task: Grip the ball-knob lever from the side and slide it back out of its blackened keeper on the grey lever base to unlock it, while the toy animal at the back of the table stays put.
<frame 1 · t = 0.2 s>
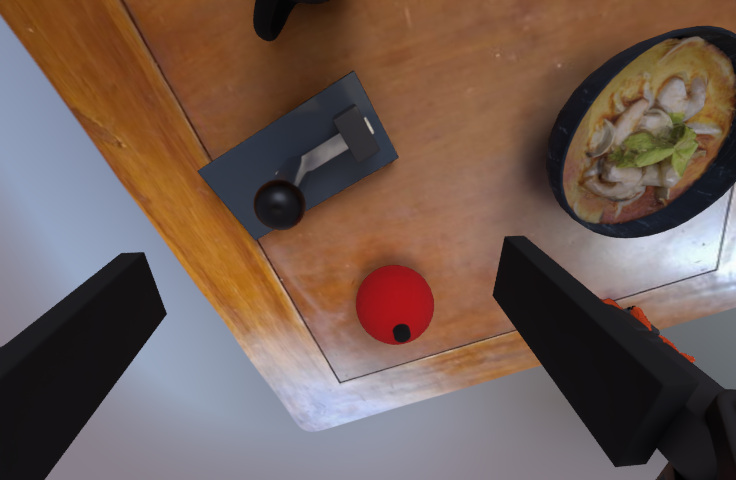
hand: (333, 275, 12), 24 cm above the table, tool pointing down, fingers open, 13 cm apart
grey lever base: (301, 161, 33), on the table
ball-knob lever: (321, 165, 25), point 8 cm above the table, slide at 0.0 cm
bowl: (589, 132, 34), on the table
ornament: (388, 281, 41), on the table
toy animal: (594, 309, 46), on the table
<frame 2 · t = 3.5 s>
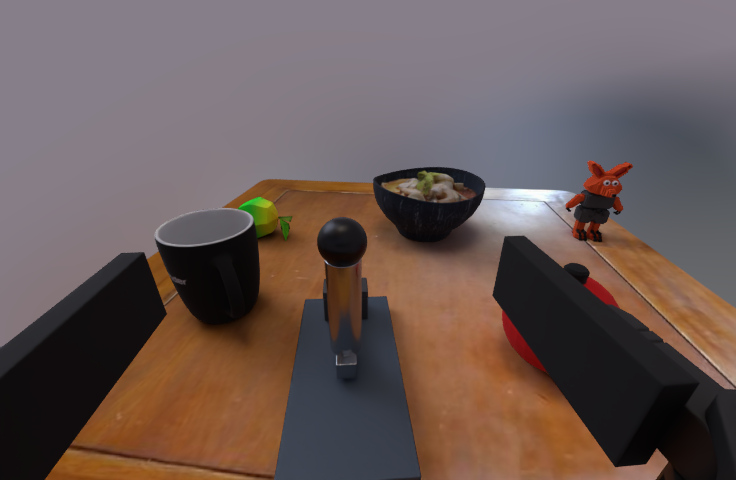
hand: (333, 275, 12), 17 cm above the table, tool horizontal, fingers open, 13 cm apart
grey lever base: (347, 375, 28), on the table
ball-knob lever: (344, 275, 27), point 8 cm above the table, slide at 0.0 cm
bowl: (423, 231, 54), on the table
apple: (267, 234, 53), on the table
ornament: (543, 358, 30), on the table
mug: (231, 314, 35), on the table
toy animal: (587, 239, 52), on the table
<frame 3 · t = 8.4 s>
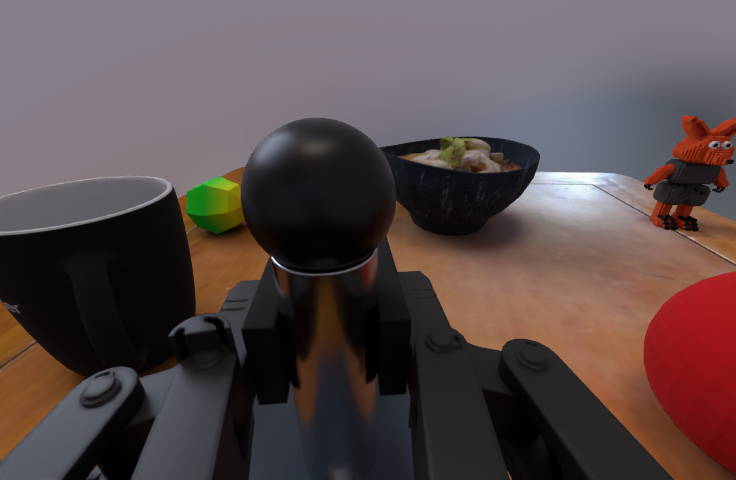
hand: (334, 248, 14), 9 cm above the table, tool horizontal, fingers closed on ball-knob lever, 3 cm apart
ball-knob lever: (334, 291, 12), point 8 cm above the table, slide at 0.0 cm, touching gripper
bowl: (446, 222, 39), on the table
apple: (232, 229, 38), on the table
ornament: (729, 446, 15), on the table
mug: (142, 357, 20), on the table
toy animal: (675, 228, 37), on the table
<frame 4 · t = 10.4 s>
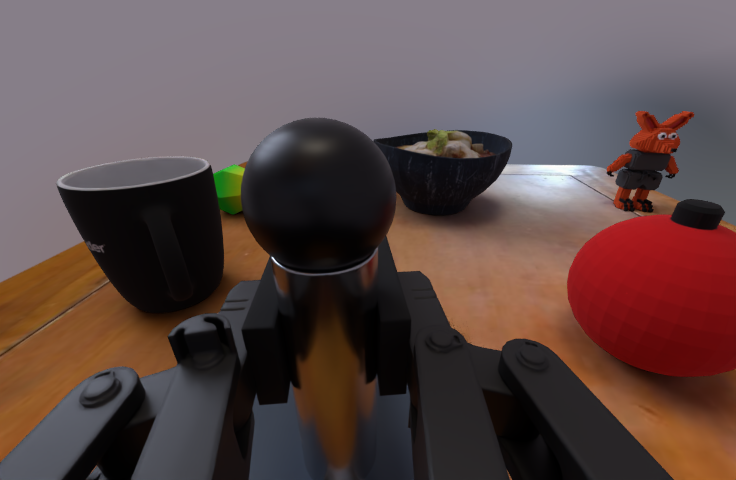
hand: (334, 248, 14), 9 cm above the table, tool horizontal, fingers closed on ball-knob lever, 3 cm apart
grey lever base: (343, 381, 18), on the table
ball-knob lever: (334, 291, 12), point 8 cm above the table, slide at 5.9 cm, touching gripper
bowl: (434, 205, 45), on the table
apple: (246, 211, 43), on the table
ornament: (629, 352, 20), on the table
mug: (183, 300, 26), on the table
toy animal: (634, 210, 43), on the table
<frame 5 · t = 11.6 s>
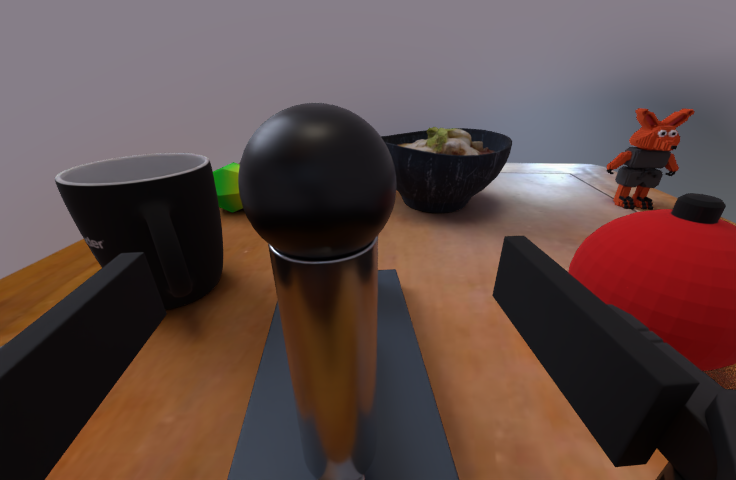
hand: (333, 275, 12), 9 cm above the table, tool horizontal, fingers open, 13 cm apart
grey lever base: (342, 376, 18), on the table
ball-knob lever: (333, 285, 12), point 8 cm above the table, slide at 6.0 cm
bowl: (434, 203, 45), on the table
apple: (245, 209, 43), on the table
ornament: (629, 347, 20), on the table
mug: (183, 297, 26), on the table
toy animal: (633, 208, 42), on the table
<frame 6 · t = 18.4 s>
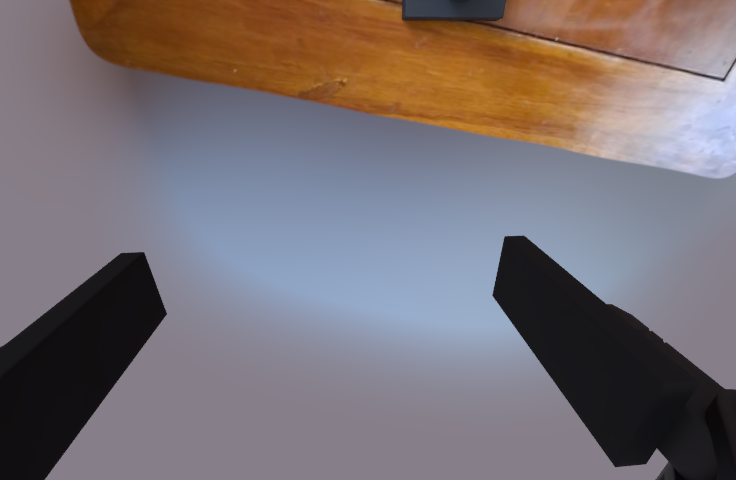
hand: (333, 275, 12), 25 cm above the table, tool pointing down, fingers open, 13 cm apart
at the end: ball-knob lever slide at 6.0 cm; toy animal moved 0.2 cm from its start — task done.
